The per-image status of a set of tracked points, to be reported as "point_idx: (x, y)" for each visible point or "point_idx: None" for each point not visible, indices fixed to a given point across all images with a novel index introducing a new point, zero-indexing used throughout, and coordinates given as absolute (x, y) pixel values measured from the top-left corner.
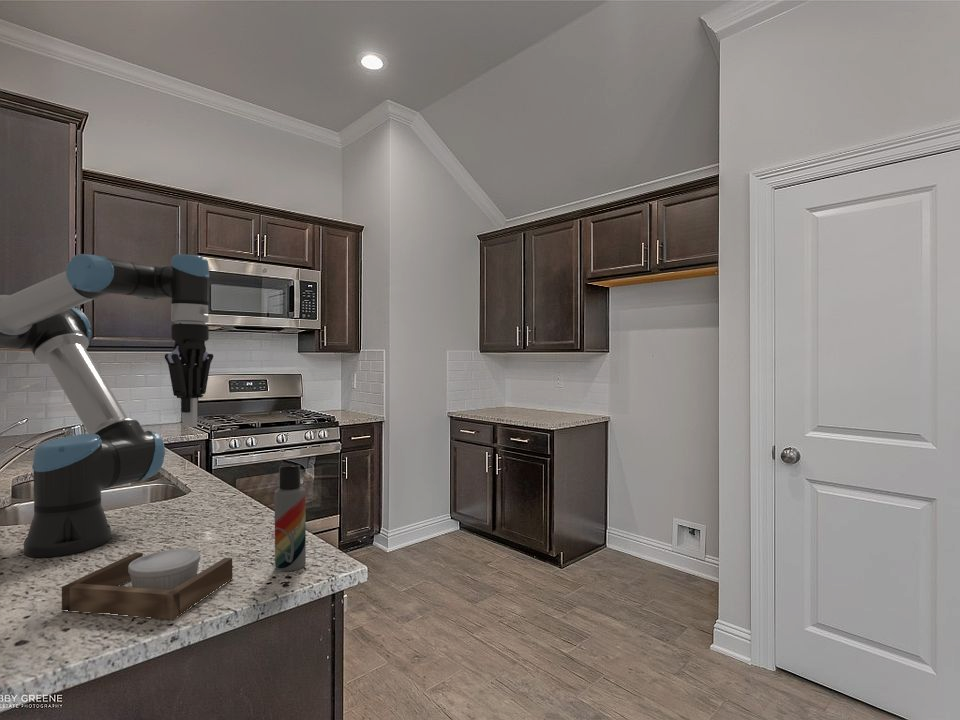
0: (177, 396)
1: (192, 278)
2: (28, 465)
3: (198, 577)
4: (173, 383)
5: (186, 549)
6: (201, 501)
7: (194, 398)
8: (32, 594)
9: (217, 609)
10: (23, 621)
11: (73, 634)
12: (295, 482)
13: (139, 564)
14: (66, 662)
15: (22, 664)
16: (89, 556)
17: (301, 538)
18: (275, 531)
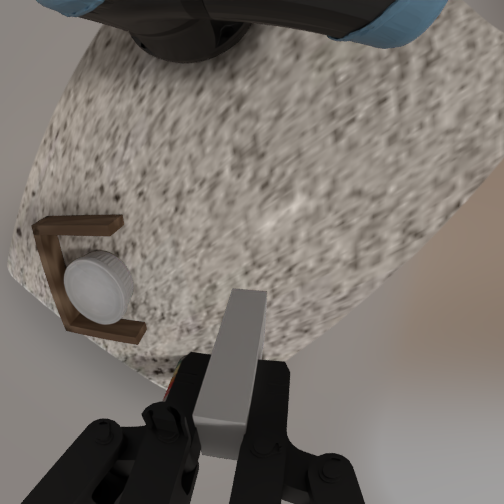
0: (146, 414)
1: None
2: None
3: (93, 335)
4: (48, 486)
5: (121, 299)
6: (483, 74)
7: (217, 456)
8: (55, 146)
9: (101, 339)
10: (29, 199)
11: (36, 259)
12: None
13: (73, 276)
14: (24, 283)
15: (13, 258)
16: (153, 88)
17: None
18: (168, 389)
